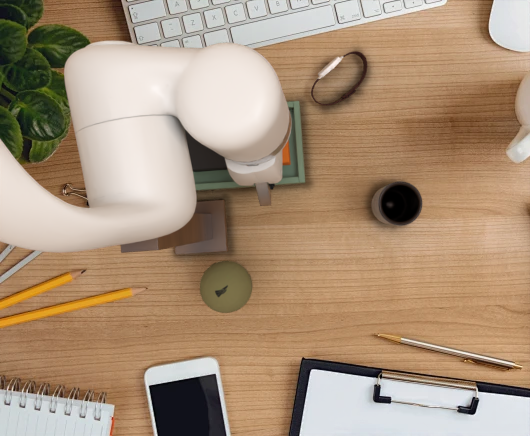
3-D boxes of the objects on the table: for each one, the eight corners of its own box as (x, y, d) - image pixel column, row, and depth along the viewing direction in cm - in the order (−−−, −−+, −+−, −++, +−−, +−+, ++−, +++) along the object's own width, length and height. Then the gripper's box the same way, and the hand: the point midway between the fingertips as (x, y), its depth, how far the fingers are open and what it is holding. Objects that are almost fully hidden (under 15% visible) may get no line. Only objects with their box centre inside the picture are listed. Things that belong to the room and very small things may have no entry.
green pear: (243, 312, 72) (229, 327, 62) (203, 286, 72) (183, 298, 62) (268, 272, 72) (259, 281, 62) (229, 247, 72) (213, 252, 62)
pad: (194, 172, 72) (187, 170, 69) (191, 129, 72) (184, 125, 68) (236, 169, 72) (232, 166, 69) (233, 126, 72) (229, 122, 69)
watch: (349, 45, 72) (350, 36, 69) (376, 74, 72) (378, 67, 69) (301, 89, 72) (300, 82, 69) (328, 118, 72) (328, 113, 69)
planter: (394, 178, 72) (405, 172, 62) (416, 209, 72) (431, 208, 62) (363, 200, 72) (369, 198, 62) (385, 231, 72) (395, 234, 62)
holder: (184, 191, 72) (180, 191, 70) (178, 112, 72) (174, 109, 70) (305, 183, 72) (305, 182, 70) (299, 104, 72) (299, 100, 70)
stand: (177, 254, 72) (103, 273, 48) (174, 203, 72) (97, 197, 48) (228, 250, 72) (178, 267, 48) (224, 200, 72) (173, 192, 48)
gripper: (197, 26, 53) (229, 75, 71) (211, 221, 53) (240, 220, 71) (283, 20, 53) (294, 70, 71) (297, 215, 53) (304, 215, 71)
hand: (267, 145), depth 71 cm, fingers closed on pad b, 4 cm apart
